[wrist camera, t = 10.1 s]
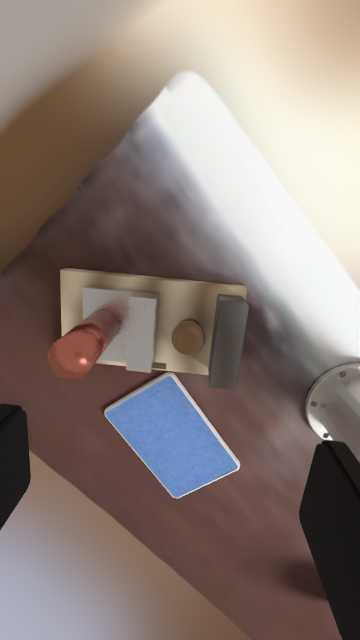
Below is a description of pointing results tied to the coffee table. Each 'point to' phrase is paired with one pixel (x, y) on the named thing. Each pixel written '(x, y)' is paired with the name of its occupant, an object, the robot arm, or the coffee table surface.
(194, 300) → the base
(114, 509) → the coffee table surface
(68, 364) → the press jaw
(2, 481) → the robot arm
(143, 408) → the tablet computer
